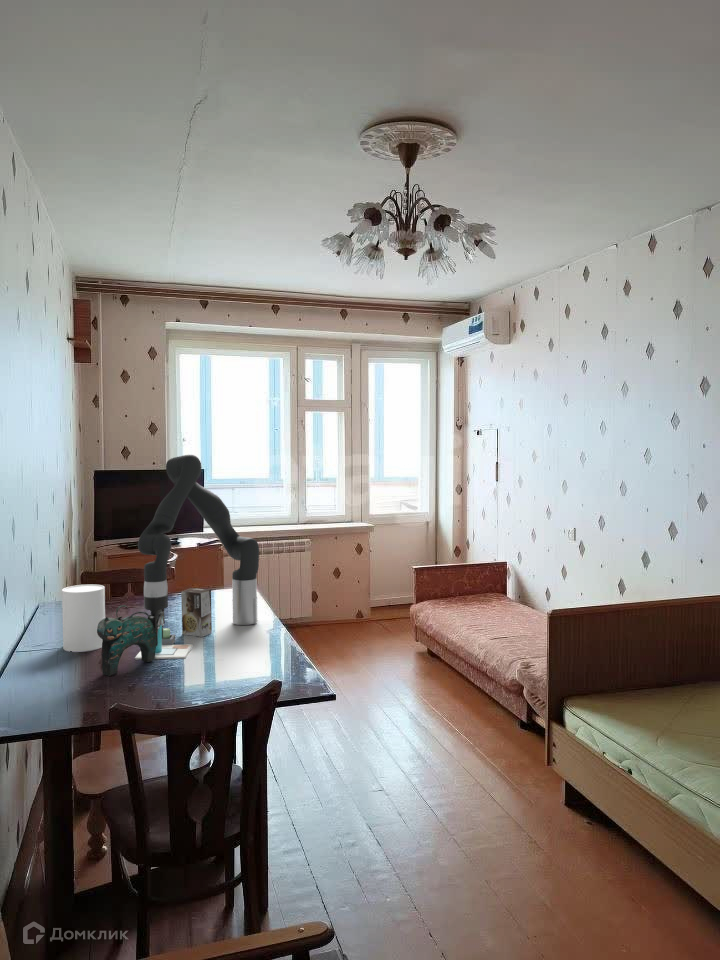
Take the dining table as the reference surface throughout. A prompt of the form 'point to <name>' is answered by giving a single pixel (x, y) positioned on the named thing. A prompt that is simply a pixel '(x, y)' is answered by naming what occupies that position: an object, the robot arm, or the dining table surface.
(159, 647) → the teal capped bottle
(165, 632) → the button
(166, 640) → the button housing
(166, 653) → the sheet
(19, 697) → the dining table surface
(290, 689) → the dining table surface
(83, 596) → the canister
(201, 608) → the coffee box
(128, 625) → the ceramic cat
